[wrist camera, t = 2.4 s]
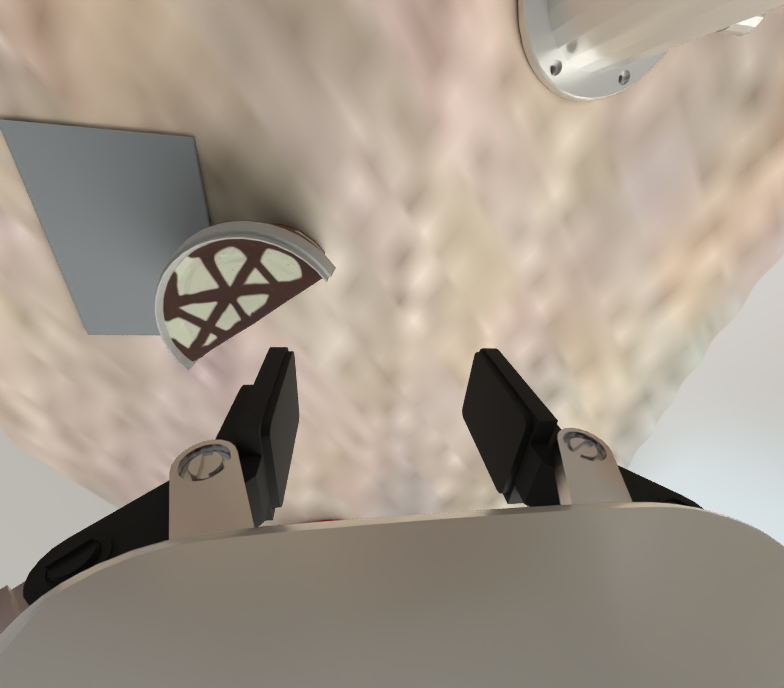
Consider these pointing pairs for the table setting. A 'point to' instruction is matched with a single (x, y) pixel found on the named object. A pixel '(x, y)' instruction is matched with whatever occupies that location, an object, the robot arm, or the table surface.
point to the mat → (111, 213)
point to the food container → (231, 283)
